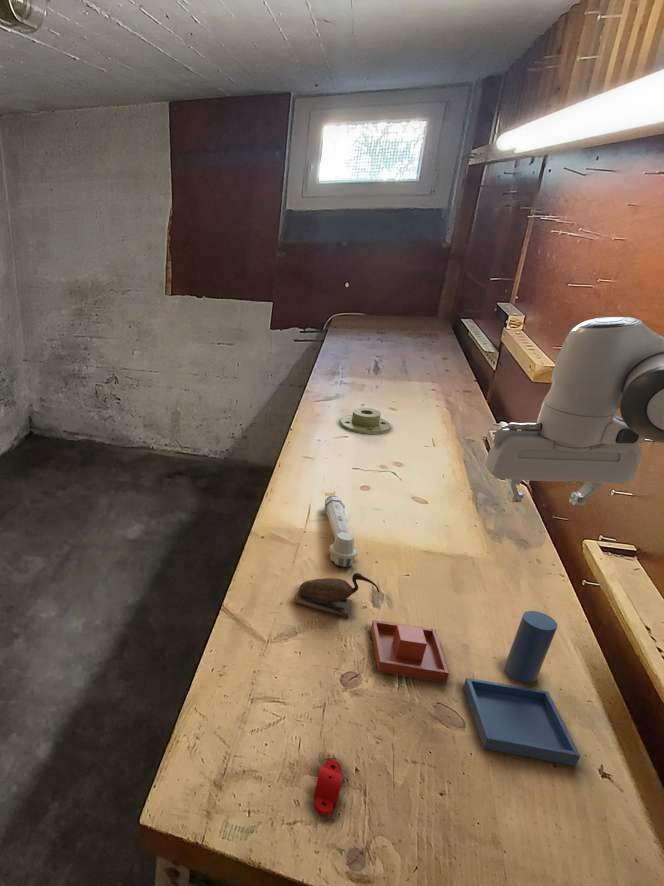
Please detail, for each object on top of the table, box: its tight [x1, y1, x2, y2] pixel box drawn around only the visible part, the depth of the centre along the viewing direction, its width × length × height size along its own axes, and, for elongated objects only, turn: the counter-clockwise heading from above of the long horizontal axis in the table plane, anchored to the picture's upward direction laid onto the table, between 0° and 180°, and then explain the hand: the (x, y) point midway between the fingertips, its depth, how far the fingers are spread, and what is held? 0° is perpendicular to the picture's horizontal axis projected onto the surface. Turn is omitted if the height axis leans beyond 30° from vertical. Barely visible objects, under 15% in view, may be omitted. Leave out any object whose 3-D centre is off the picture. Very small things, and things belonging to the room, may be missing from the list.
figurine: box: [294, 572, 380, 618], centre depth 105 cm, size 14×4×9 cm, turn 62°
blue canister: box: [503, 610, 558, 684], centre depth 89 cm, size 4×4×11 cm
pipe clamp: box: [313, 758, 344, 816], centre depth 74 cm, size 8×3×2 cm, turn 151°
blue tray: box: [462, 677, 581, 767], centre depth 82 cm, size 11×11×2 cm
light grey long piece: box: [324, 495, 358, 568], centre depth 127 cm, size 5×7×25 cm
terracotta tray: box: [370, 619, 450, 684], centre depth 95 cm, size 10×10×2 cm
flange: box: [340, 407, 391, 435], centre depth 185 cm, size 5×15×15 cm
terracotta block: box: [393, 623, 427, 662], centre depth 94 cm, size 4×4×4 cm
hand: (544, 502), depth 92 cm, fingers open, 8 cm apart
